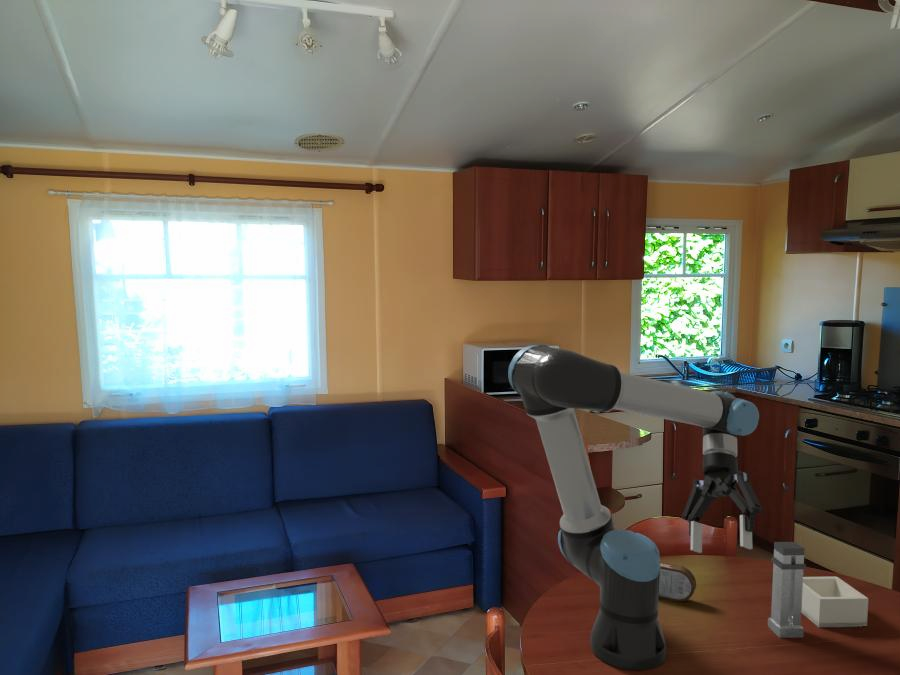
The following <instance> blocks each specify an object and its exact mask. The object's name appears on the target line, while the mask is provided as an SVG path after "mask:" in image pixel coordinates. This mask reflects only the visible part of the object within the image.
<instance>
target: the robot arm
mask: <svg viewBox="0 0 900 675" xmlns="http://www.w3.org/2000/svg"><path fill="white" fill-rule="evenodd" d="M507 372H508V373H507V374H508V376H507V377H508V381H509V385H510V386H511V388H512V389H513V390H514V392H516V394H519V395H520V396H521V400H522V403H523V407H524V409H525V413H526V415H527V416H529V417H531V418H533V419H534V420H535V422H536V425H537V429H538V432H539V434H540V438H541V442H542V446H543V449H544V453H545V454H546V459H547V463H548V466H549V469H550V473H551V475H552V479H553V482H554V485H555V489H556V494H557V496H558V499H559V502H560V506H561V510H562V512H563V514H562V516H561V517H560V519H559V527H560V530H559V531H558V533H557V534H558V536H557V543H558V547H559V550H560V552H561V554H562V555H563V557H564V558H565V559H566V561H567V562H568V563H569V564H570V565H571V566H572V567H574V568H576V569H577V570H579V572H581V573H582V574H584V575H585V576H587V578H589V579H590V580H592V581H593V582H594V584H597V585H598V586H599V609H598V613H597V616H596V618H595V620H594V624H593V626H592V629H591V631H590V638H589V639H590V642H589V643H590V649H591V651H592V653H593V654H594V655H595V656H596V657H597V658H598V659H600V660H601V661H603V662H604V663H606V664H608V665H611V666H612V667H616V668H620V669H623V670H629V671H646V670H647V671H648V670H653V669H655V668H658V667H659V666H661V665H662V664H663V663H664V662H665V660H666V659H667V658H666V657H667V643H666V640H665V637H664V634H663V630H662V627H661V623H660V620H659V599H660V597H659V579H660V568H661V566H660V561H661V559H660V558H661V557H660V550H659V549H658V546H657V545H656V543H655V542H654V541H653V540H652V539H650V538H649V537H648V536H646V535H644V534H642V533H640V532H634V531H632V530H629V529H628V530H627V529H616V528H615V524H614V520H613V517H612V514H611V513H612V512H611V510H610V509H609V508H608V507H606V506H605V505H602V504H601V500H600V496H599V492H598V490H597V485H596V482H595V479H594V476H593V471H592V469H591V465H590V462H589V458H588V455H587V450H586V447H585V444H584V440H583V437H582V436H583V435H582V434H581V430H580V427H579V426H580V425H579V422H578V419H577V416H576V412H575V409H577V410H587V411H588V410H589V411H597V412H601V413H609V412H610V411H612V410H618V411H623V412H628V413H632V414H636V415H643V416H647V417H653V418H658V419H662V420H663V419H664V420H668V421H673V422H677V423H684V424H688V425H693V426H697V427H700V428H702V455H703V456H702V472H703V473H704V478H703V480H699V479H696V478H695V479H693V481H692V482H693V483H692V489H691V491H690V494H689V497H688V500H687V502H686V505H685V508H684V511H683V513H682V515H681V519H682V520H683V521H684V520H685V521H687V522H688V535H689V537H690V551H693V552H695V553H698V554H702V553H703V524H702V523H701V522H700V521H701V520H702V518H703V517H704V515H705V514H706V513H707V511H708V509H709V507H710V506H711V504H712V502H714V501H716V500H717V498H722V497H730V499H731V500H732V501H733V502H734V504H736V506H737V508H738V509H739V510H740V511H741V512H740V513H741V514H740V515H739V543H740V544H739V547H741V548H743V549H744V548H745V549H747V550H753V533H754V531H755V517H756V515H758V514H762V513H763V512H764V510H763V507H762V505H761V503H760V501H759V499H758V496H757V495H756V493H755V491H754V489H753V487H752V485H751V482H750V476H749V473H746V472H743V471H741V470H739V466H738V465H739V464H738V461H739V460H738V436H748V435H750V434H752V433H753V432H754V431H755V430H756V429H757V426H758V425H759V420H760V412H759V410H758V407H757V406H756V405H755V403H754V402H751V401H749V400H746V399H744V398H737V397H735V396H734V395H733V394H731V393H730V392H728V391H726V392H725V391H721V390H720V391H719V390H713V391H706V390H701V389H698V388H694V387H690V386H689V385H686V384H684V383H681V382H675V383H670V382H666V381H663V380H658V379H653V378H648V377H645V376H639V375H635V374H631V373H626V372H624V371H623V372H622V371H621V370H620V368H618V367H617V365H614V364H609V363H606V362H602V361H600V360H598V359H593V358H591V357H589V356H586V355H583V354H581V353H578V352H575V351H573V350H568V349H562V348H556V347H550V346H549V345H545V344H544V345H543V344H538V345H537V344H536V345H535V344H533V345H527V346H525V347H523V348H521V349H520V350H519V351H518V352H516V354H515V355H514V356H513V358H512V359H511V361H510V363H509V365H508V371H507ZM737 484H738V486H739V488H740V490H741V493H742V494H743V496H742V495H741V493H740V491H739V490H738V489H737V487H736V485H737Z"/></svg>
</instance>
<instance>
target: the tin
mask: <svg viewBox="0 0 900 675" xmlns="http://www.w3.org/2000/svg"><path fill="white" fill-rule="evenodd" d="M660 566H661V568H660V579H659V598H661V597H662V599H665V598H666V599H667V600H670V601H675V602H685V601H688V600H689V599H690V598H692V597H693V595H694V593H695V590H696V588H697V580H696V578H695V575H694V574H693V573H692V571H691V570H690V569H689V568H687V567H685V566H683V565H680V564H676V563H670V562H667V561H666V562H665V561H661V560H660Z"/></svg>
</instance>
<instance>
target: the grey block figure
mask: <svg viewBox="0 0 900 675" xmlns="http://www.w3.org/2000/svg"><path fill="white" fill-rule="evenodd" d="M773 546H774V547H773V556H772V557H771V560H770V561H771V563H772V564H773V565H772V566H773V567H772V584H771V585H772V586H771V589H772V590H771V611H770V617H767V627H768V628H769V629H770V630H771V631H772V632H773V633H774V634H775V635H776V636H777V637H778V638H779V639H782V638H783V639H787V638H788V639H790V638H791V639H792V638H804V632H805V631H804V627H803V626H802V625H801V624H802V613H801V610H802V589H803V577H804V570H806V569H807V567H806V566H807V564H805V548H804V547H803V546H802V545H800V544H799V543H797V542H796V541H774V544H773Z"/></svg>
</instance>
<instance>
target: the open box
mask: <svg viewBox="0 0 900 675" xmlns="http://www.w3.org/2000/svg"><path fill="white" fill-rule="evenodd" d="M868 611H869V597H867V596H865V595H864V594H862V592H860V591H858V590H857V589H856V588H854V587H853V586H851V585H850V584H848V583H847V582H846V581H844V580H842V579H841V578H840V577H838V576H803V589H802V610H801V615H803V616H805V617H806V618H807V619H808V620H809V621H811V622H812V623H813V624H814V625H815V626H816V627H817V628H855V627H856V628H858V626H859V627H860V628H861V627H862V626H868V614H869V613H868Z"/></svg>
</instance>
